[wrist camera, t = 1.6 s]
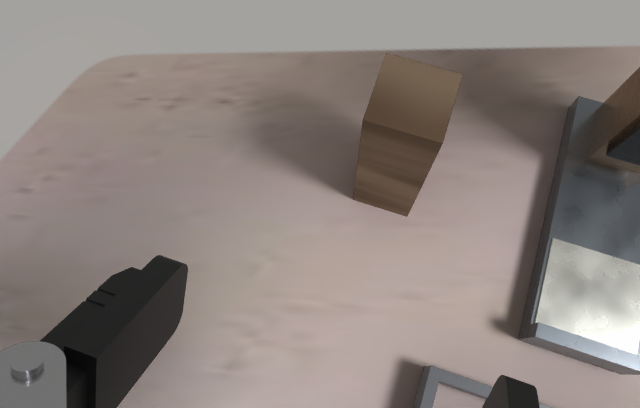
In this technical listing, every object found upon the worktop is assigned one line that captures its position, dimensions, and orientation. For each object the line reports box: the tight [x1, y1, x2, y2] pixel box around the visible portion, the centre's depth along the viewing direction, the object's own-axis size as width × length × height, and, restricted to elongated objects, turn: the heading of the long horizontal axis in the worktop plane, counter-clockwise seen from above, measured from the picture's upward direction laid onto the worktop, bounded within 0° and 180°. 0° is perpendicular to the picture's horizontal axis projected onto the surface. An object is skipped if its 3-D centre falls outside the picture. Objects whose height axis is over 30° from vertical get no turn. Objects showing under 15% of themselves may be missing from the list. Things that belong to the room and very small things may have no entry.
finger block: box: [353, 53, 463, 216], centre depth 29 cm, size 4×4×11 cm
